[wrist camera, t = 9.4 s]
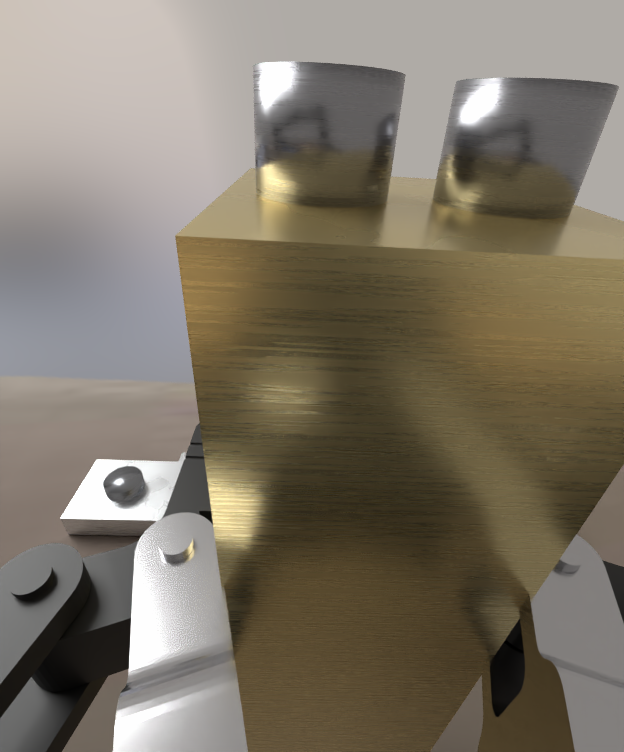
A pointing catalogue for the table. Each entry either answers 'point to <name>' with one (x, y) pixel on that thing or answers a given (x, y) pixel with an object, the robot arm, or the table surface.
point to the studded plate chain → (121, 497)
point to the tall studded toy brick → (399, 392)
